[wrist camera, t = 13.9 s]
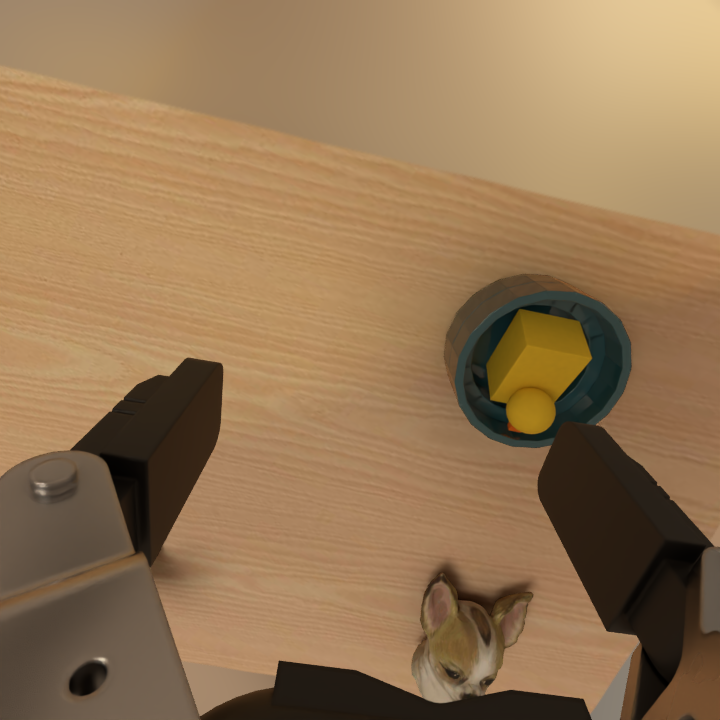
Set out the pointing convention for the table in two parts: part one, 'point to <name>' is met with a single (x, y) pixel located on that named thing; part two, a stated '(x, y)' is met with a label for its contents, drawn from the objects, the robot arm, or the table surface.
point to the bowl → (488, 325)
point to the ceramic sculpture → (463, 642)
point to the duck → (535, 368)
